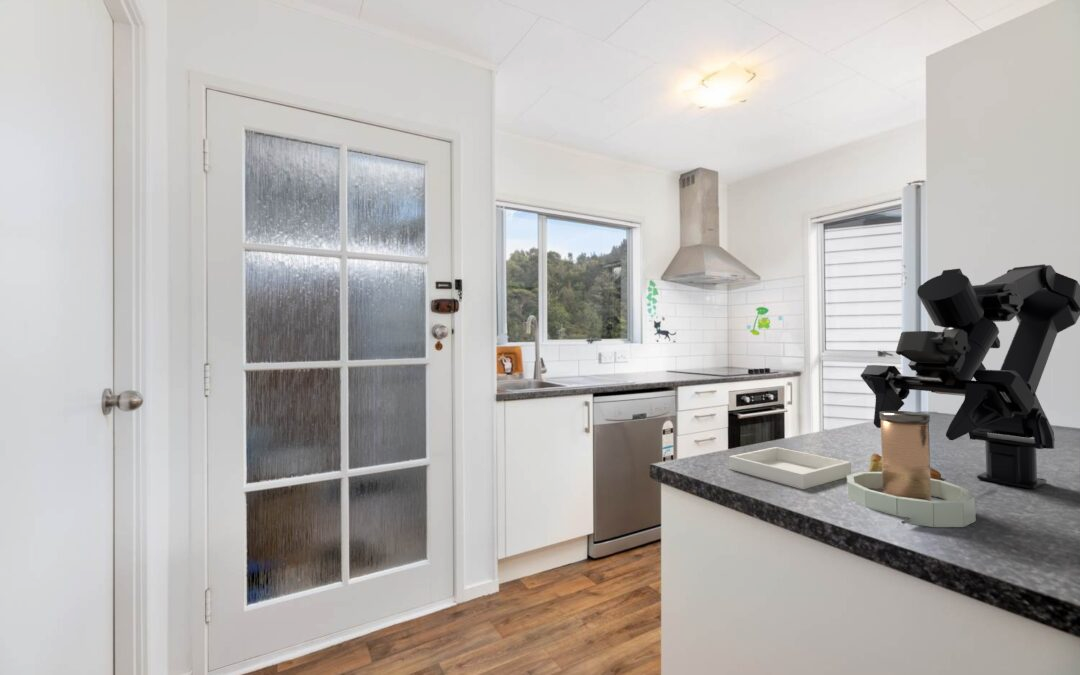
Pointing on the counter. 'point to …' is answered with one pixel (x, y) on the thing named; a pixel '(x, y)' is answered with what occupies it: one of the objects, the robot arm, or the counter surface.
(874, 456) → the pastry
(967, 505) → the bowl
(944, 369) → the robot arm
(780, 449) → the tray
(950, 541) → the counter surface
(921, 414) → the canister
